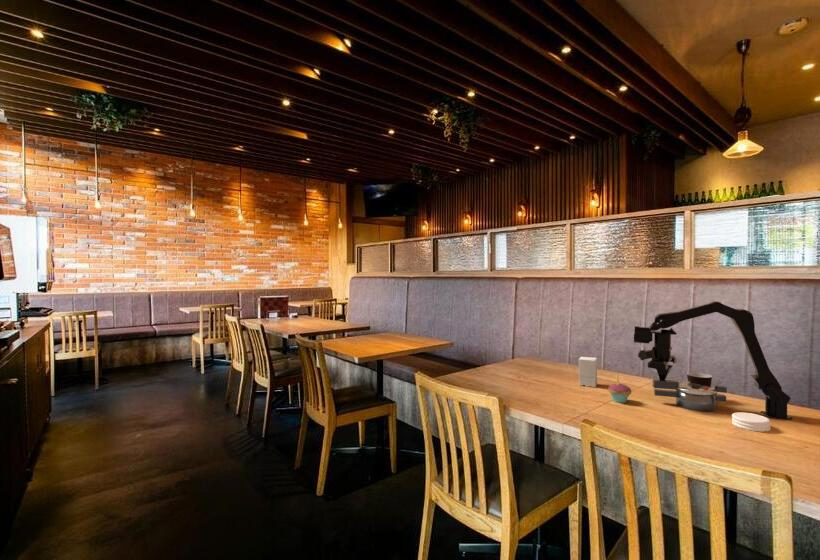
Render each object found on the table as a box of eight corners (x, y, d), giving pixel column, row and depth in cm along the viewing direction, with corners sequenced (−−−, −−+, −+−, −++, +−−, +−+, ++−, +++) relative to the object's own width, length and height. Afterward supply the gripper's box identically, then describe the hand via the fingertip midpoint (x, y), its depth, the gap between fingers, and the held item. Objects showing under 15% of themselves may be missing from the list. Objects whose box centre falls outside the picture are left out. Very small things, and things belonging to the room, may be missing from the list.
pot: (719, 404, 161) (719, 389, 161) (731, 414, 149) (731, 398, 149) (651, 397, 169) (651, 383, 169) (657, 407, 157) (657, 392, 157)
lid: (718, 387, 161) (718, 380, 161) (733, 397, 149) (733, 389, 149) (649, 383, 169) (649, 376, 169) (657, 391, 156) (657, 384, 156)
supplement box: (597, 384, 192) (597, 357, 192) (595, 387, 186) (595, 360, 186) (581, 382, 196) (581, 356, 196) (578, 385, 190) (578, 358, 189)
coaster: (756, 434, 131) (756, 423, 131) (724, 423, 140) (724, 413, 140) (777, 430, 134) (777, 420, 134) (745, 420, 143) (745, 410, 143)
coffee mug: (712, 403, 162) (712, 378, 162) (686, 399, 167) (686, 375, 167) (712, 396, 171) (712, 372, 171) (687, 393, 176) (687, 370, 176)
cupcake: (625, 405, 160) (625, 375, 160) (604, 400, 166) (604, 371, 166) (634, 401, 165) (634, 372, 165) (613, 396, 172) (613, 368, 172)
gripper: (646, 339, 176) (646, 375, 176) (633, 345, 163) (633, 383, 163) (676, 342, 168) (676, 379, 168) (665, 348, 155) (665, 389, 155)
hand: (662, 382), depth 164 cm, fingers closed
